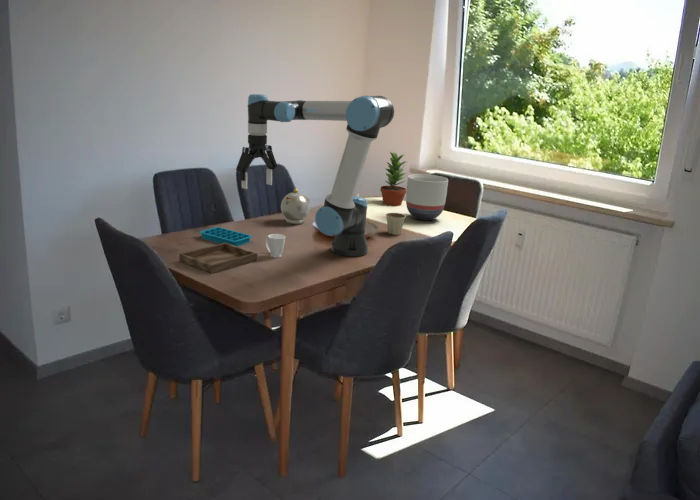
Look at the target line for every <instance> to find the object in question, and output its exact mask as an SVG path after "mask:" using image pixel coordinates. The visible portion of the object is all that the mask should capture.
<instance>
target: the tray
mask: <svg viewBox="0 0 700 500" xmlns="http://www.w3.org/2000/svg"><path fill="white" fill-rule="evenodd" d="M178 257H179V261H180V262H179V263H181V264H184V263H185V264H184V265H187V266H190V267H192V268H194V267H195V268H194V269H198V270H200V271H202V272H204V273H207V274H210V275H214V274H216V273H217V274H218V273H220V272H224V271H226V270H227V271H228V270H230V269H234V268H237V267H240V266H243V265H247V264H251V263H254V262H258V253H257V252H254V251H251V250H248V249H246V248H242V247H239V246H234V245H231V244H228V243H222V244H220V243H217V244H214V245H210V246H206V247H202V248H199V249H195V250H190V251H186V252H183V253H179V256H178Z"/></svg>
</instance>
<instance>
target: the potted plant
mask: <svg viewBox="0 0 700 500" xmlns="http://www.w3.org/2000/svg"><path fill="white" fill-rule="evenodd" d="M388 151H389V153H390V156H391V157H389V160H390V162H391V163H390V162H388V161H387V162H386V163H387V166H388V168H386V167H384V168H385V170H386V171H387V172H388V173H387V172H385V175H386V176H387V177H388V178H387V180H385V183H387V184H388V185H382V186H380V192H381V197H382V203H383V204H384V205H385V204H386V206H390V205H391V206H390V207H392V206H393V207H399V206H401V205H402V203H403V200H404V198H405V195H406V192H407V187H406V188H405V187H403V186H399V185H400V184H403V183H404V182H406V180H404V181H401V180H403V179H405V178H406V176H405V175H406V174H407V172H406V173H405V172H403V171H404V167H405V165H404V164H405V163H407V161H402V162H400V160H401V159H402V158H403V157H404V156H405V154H402V155H400V156H398V153H396V152H395V151H393V152H392V151H390V150H388ZM401 166H402V167H401ZM399 181H400V182H399ZM397 185H398V186H397ZM398 205H399V206H398Z"/></svg>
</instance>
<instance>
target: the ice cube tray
mask: <svg viewBox="0 0 700 500" xmlns="http://www.w3.org/2000/svg"><path fill="white" fill-rule="evenodd" d="M199 234H201V238H202V239H203V240H206V241H209V242H213V243H217V244H222V243H228V244H231V245H234V246H237V247H239V246H243V245H246V244H249V243H250V239H251V238H253V235H251V234H249V233H248V234H246V233H243V232H239V231H236V230H232V229H227V228H224V227H219V226H215V227H212V228H211V227H210V228H207V229H204V230H200V231H199Z"/></svg>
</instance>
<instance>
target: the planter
mask: <svg viewBox="0 0 700 500" xmlns="http://www.w3.org/2000/svg"><path fill="white" fill-rule="evenodd" d="M448 186H449V179H448V177H445V176H439V175H435V174H426V173H425V174H424V173H413V174H409V175H407V179H406V189H407V190H406V194H405V195H406V197H405V198H406V199H405V203H406V209H407V212H408V213H409V214H410V215H411V216H412V217H414V218H415V219H417V220H420V221H433V220H435V219H436V218H438V217H440V215H441V214H442V213H443V211H444V209H445V205H446V199H447V194H448Z"/></svg>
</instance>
